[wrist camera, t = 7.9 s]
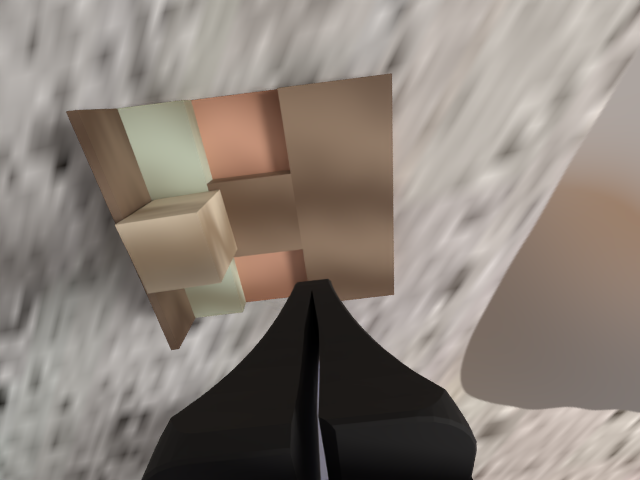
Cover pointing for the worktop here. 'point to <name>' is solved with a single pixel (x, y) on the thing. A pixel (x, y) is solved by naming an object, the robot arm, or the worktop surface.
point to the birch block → (180, 241)
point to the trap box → (262, 186)
